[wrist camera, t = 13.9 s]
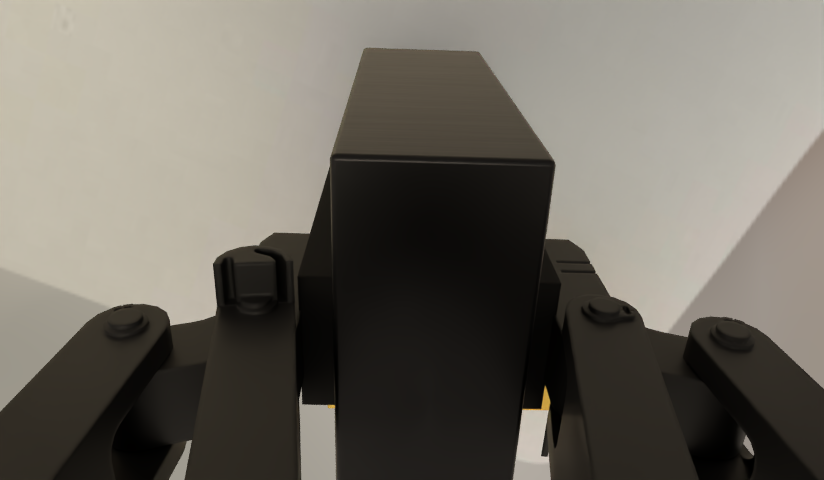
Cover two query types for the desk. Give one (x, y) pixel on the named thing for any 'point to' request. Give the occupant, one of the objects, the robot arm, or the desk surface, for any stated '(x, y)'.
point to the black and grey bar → (433, 267)
